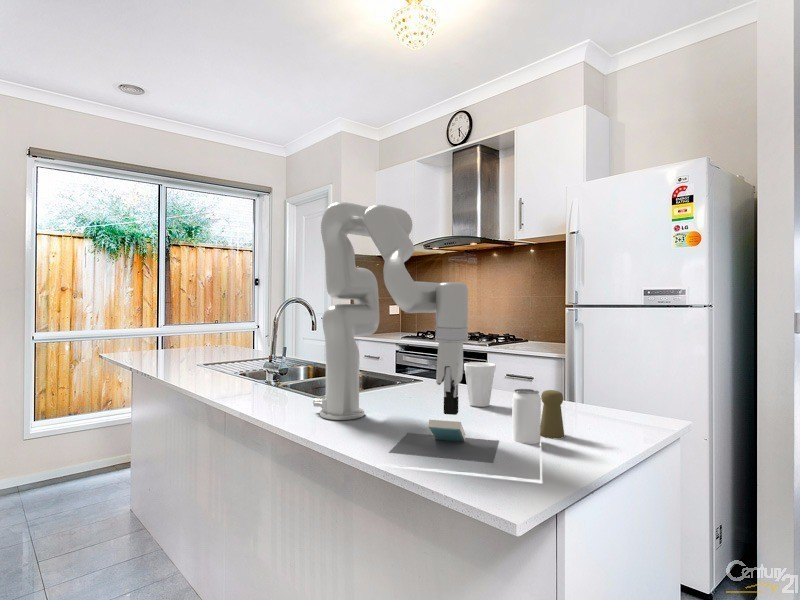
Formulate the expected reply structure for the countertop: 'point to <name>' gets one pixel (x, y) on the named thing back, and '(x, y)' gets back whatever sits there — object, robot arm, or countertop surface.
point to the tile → (447, 430)
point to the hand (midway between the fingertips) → (450, 413)
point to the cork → (552, 415)
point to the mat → (447, 448)
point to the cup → (479, 382)
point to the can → (526, 416)
